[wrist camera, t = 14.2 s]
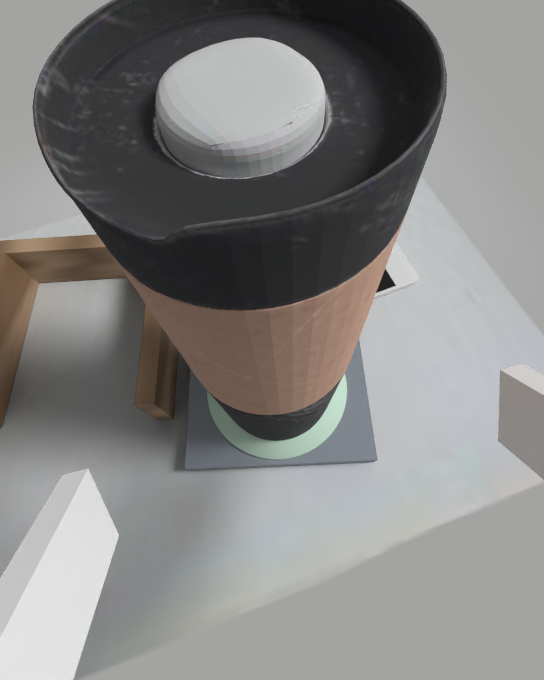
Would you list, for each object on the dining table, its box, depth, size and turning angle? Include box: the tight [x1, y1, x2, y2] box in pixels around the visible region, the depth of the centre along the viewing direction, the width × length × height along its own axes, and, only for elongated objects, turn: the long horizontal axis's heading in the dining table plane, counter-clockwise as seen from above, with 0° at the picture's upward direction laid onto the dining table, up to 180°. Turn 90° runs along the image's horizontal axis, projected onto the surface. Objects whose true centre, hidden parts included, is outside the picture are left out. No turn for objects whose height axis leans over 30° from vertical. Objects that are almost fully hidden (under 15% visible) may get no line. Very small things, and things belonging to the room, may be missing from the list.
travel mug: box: [33, 0, 447, 441], centre depth 16 cm, size 8×8×20 cm
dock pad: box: [185, 339, 377, 471], centre depth 26 cm, size 12×10×1 cm
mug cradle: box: [0, 235, 178, 427], centre depth 27 cm, size 13×13×4 cm
